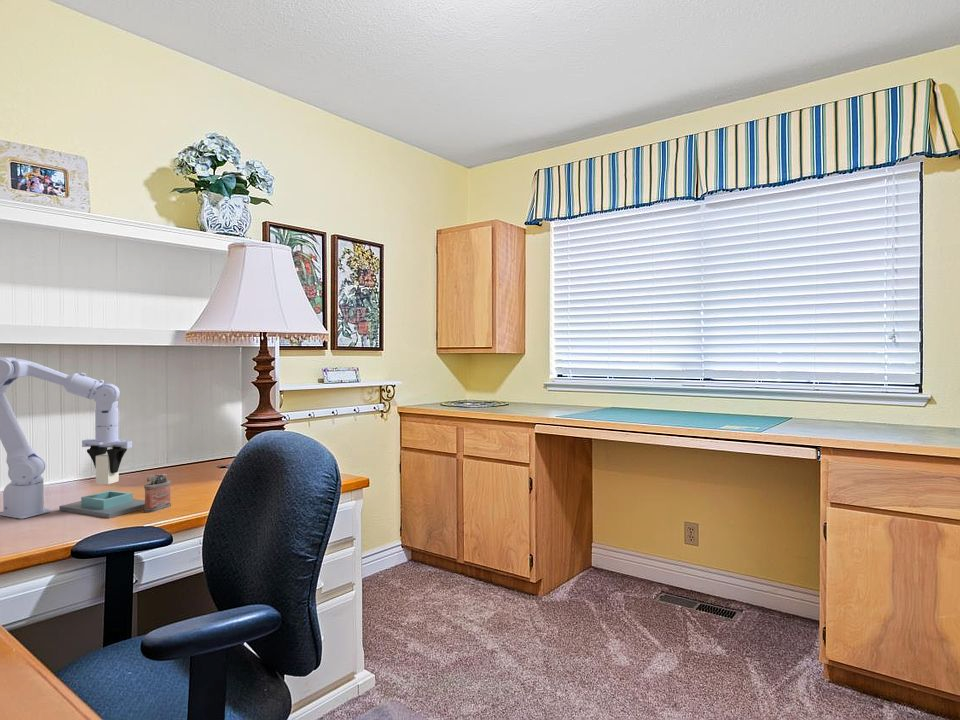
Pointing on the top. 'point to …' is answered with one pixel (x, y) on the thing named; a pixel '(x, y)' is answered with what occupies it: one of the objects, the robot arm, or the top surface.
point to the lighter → (157, 493)
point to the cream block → (105, 470)
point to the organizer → (105, 504)
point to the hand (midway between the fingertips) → (107, 472)
